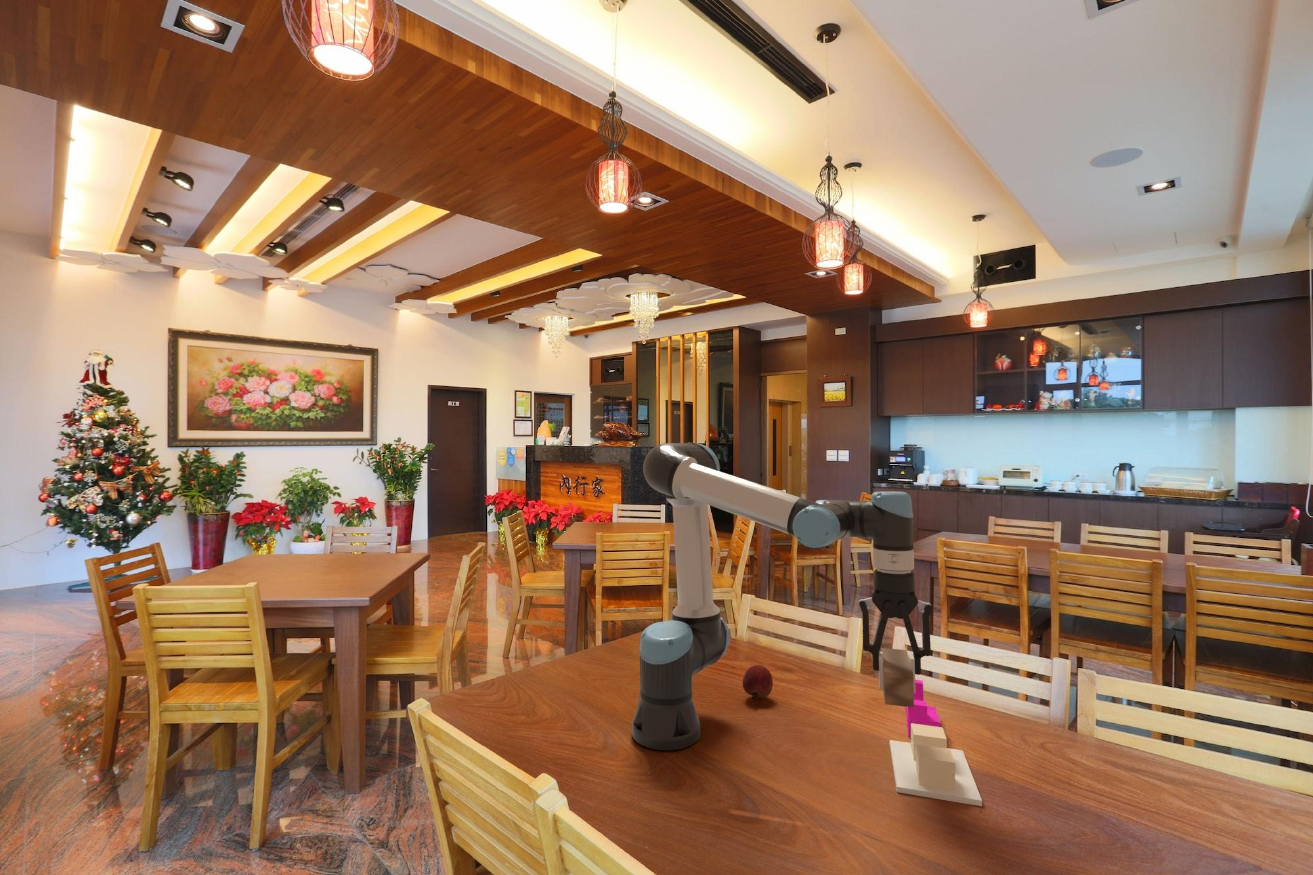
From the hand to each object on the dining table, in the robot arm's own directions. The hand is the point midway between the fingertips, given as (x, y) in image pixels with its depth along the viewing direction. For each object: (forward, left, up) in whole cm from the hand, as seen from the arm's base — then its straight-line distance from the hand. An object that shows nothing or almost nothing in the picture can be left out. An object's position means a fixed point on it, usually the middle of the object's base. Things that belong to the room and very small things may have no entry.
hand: (896, 688), depth 116 cm
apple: (-31, +25, -16) cm, 43 cm away
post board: (+6, +1, -16) cm, 17 cm away
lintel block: (0, 0, -1) cm, 1 cm away
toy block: (+7, +22, -16) cm, 28 cm away
